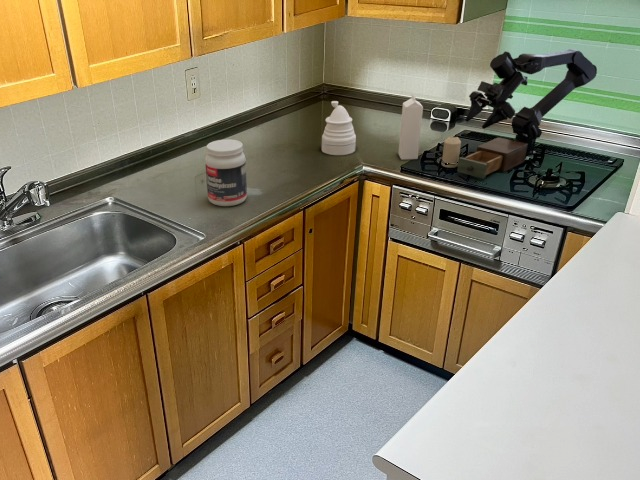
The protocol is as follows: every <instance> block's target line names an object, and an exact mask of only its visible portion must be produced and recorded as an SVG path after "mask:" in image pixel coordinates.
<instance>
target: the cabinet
mask: <svg viewBox="0 0 640 480" xmlns="http://www.w3.org/2000/svg"><path fill="white" fill-rule="evenodd" d="M527 146H528V144H527V143H522V142H518V141H514V139H509V138H503V137H500V136H498V137H496V138H493V139H491V140H489V141H487V142H485V143H482V144H480V145H478V146H476V152H478V151H480V150H484V151H488V152H492V153H496V154H500V155H504V158H503V164H502V168H500V169H498V170H496V171H497V172H499V173H505V172H507V171H509V170H511V169H513V168H515V167H518V166H519V165H521V164H524V163H525V160H526V156H527V155H526V151H527Z"/></svg>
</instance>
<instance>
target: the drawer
mask: <svg viewBox="0 0 640 480" xmlns="http://www.w3.org/2000/svg"><path fill="white" fill-rule="evenodd" d="M503 158H504V155H500V154H496V153H492V152H488V151H484V150H480V151H478V152H477V151H475V152H474V153H471V154H469V155H467V156H465V157H462V156H459V161H458V166H457V170H456V172H457V173H461V174H465V175H467V176H472V177H475V178H479V179H485V178H486V176H487V175H490V174H491V173H494V172H496V171H497V170H498V169H500V168H502V164H503Z"/></svg>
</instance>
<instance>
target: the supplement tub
mask: <svg viewBox="0 0 640 480" xmlns="http://www.w3.org/2000/svg"><path fill="white" fill-rule="evenodd" d="M243 151H244V144H243V142H241V141H240V140H236V139H230V138H229V139H217V140H213V141H211V142H209V143H207V144H206V153H207V154H206V155H205V159H204V163H205V176H206V177H205V178H206V190H207V191H206V192H207V199H208V201H209V203H211V204H213V205H215V206H218V207H233V206H238V205H240V204H242V203H244V202H245V201H246V200H247V197H248V185H247V159H246V155H245V152H243Z"/></svg>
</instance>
